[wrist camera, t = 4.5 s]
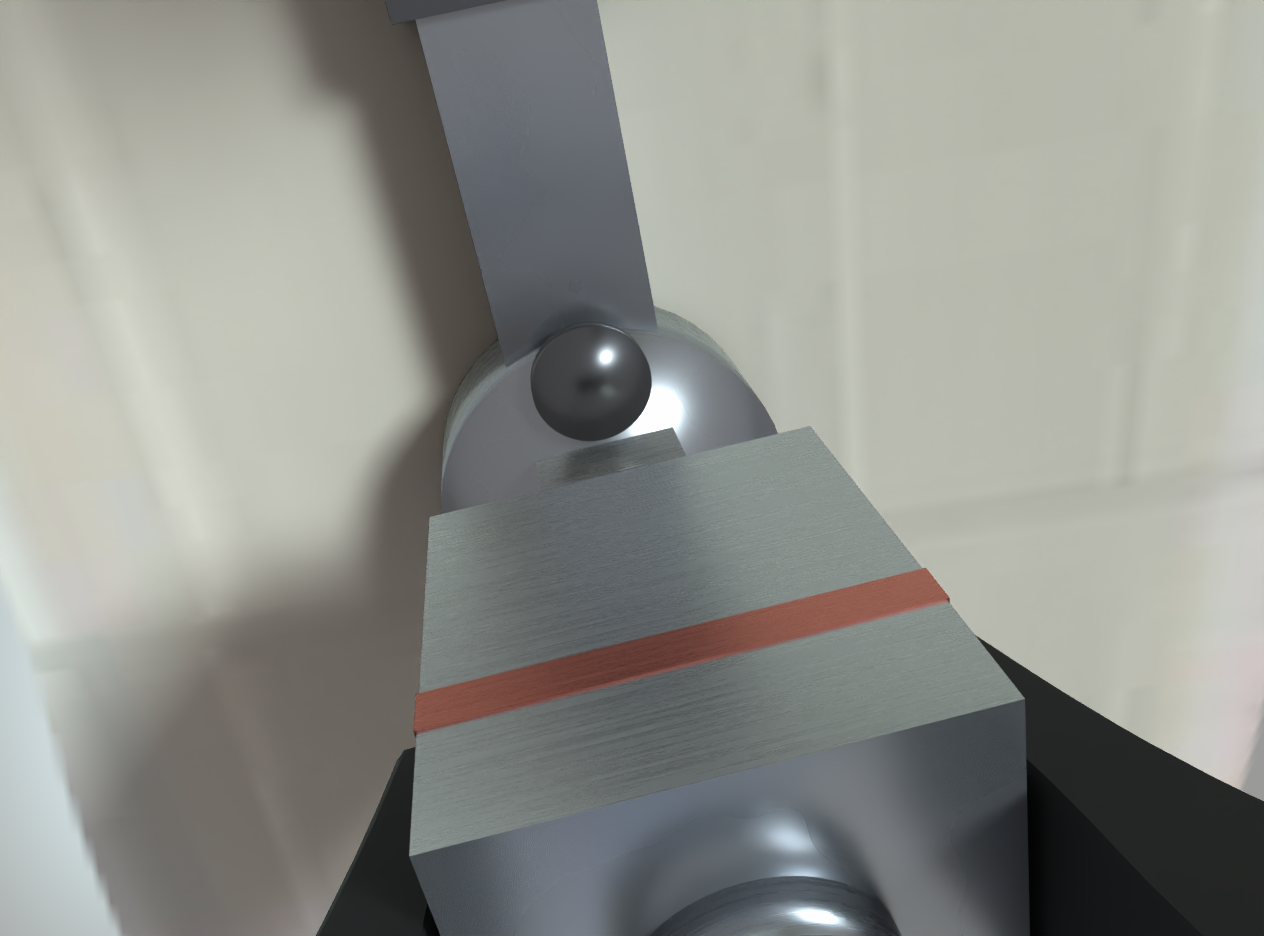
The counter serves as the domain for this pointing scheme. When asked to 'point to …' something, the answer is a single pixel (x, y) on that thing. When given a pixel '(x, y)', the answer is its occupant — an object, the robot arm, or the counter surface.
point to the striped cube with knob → (709, 715)
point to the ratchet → (560, 265)
